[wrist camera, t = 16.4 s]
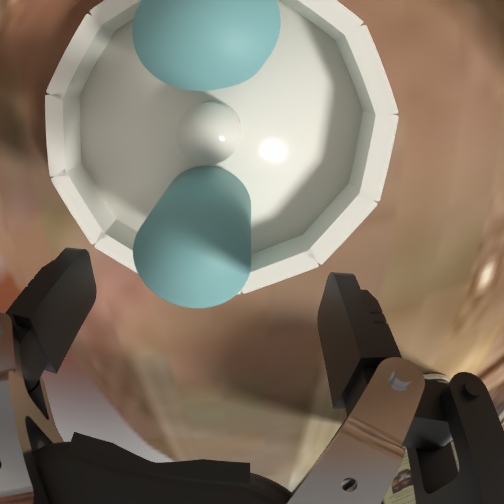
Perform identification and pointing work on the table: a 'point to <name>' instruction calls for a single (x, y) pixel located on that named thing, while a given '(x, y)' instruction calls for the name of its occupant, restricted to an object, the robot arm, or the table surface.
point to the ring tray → (226, 135)
